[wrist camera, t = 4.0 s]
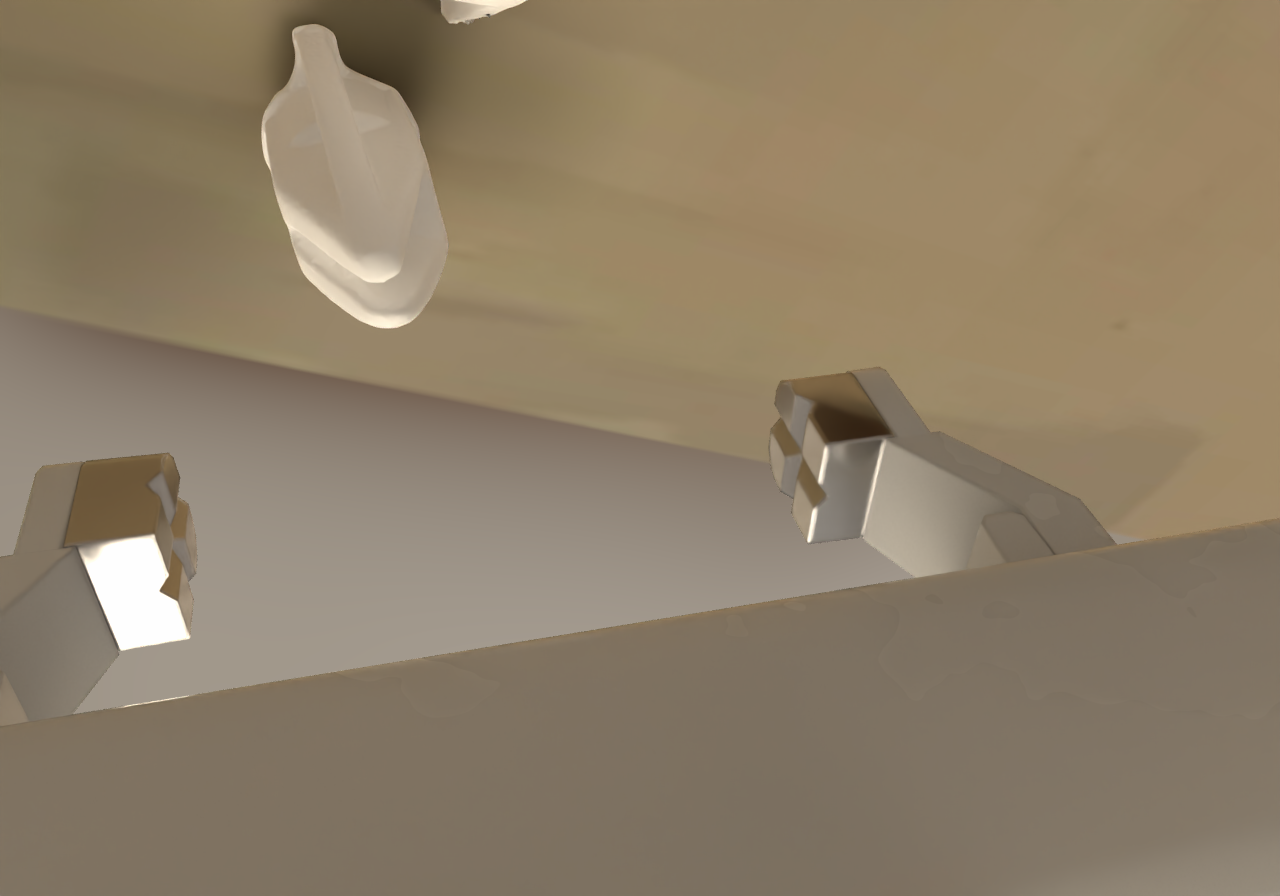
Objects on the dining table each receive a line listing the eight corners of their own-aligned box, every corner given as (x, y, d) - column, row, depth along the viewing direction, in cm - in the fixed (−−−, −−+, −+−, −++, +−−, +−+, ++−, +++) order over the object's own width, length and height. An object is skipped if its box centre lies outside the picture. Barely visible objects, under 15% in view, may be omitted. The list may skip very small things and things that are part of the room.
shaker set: (381, 231, 32) (418, 474, 24) (233, 183, 30) (219, 430, 22) (553, -189, 26) (680, -58, 18) (386, -282, 24) (443, -183, 16)
